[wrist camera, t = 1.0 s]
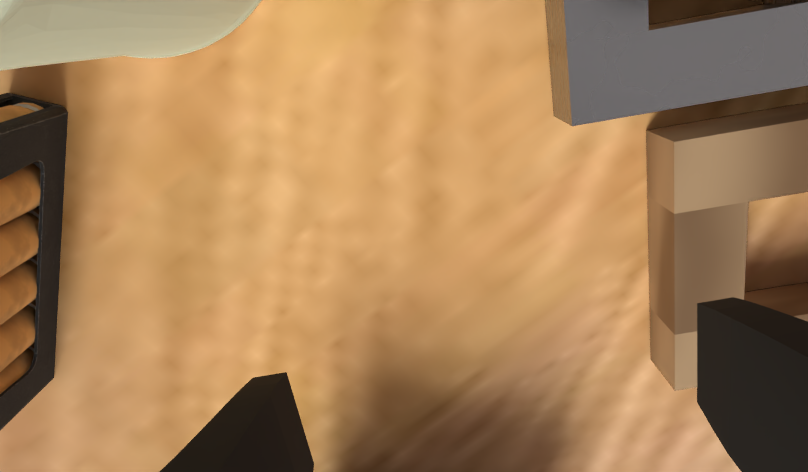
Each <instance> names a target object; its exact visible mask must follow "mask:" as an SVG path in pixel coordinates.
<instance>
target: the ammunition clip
mask: <svg viewBox="0 0 808 472" xmlns="http://www.w3.org/2000/svg"><path fill="white" fill-rule="evenodd" d="M67 118H68V112H67V111H66V110H65V108H64V107H63V106H61V105H57V104H53V103H48V102H44V101H40V100H36V99H32V98H28V97H24V96H20V95H16V94H12V93H6V94H2V95H0V430H1V429H2V428H3V427H4V426H5V425H6V424H7V423H8V422H9V421H10V420H11V419H12V418H13V417H14V416H15V415H16V414H17V413H18V412H19V411H21V410H22V409H23V408H24V407H25V406H26V405H27V404H28V403H29V402H30V401H31V400H32V399H33V398H34V397H35V396H36V395H37V394H38V393H39V392H40V391H41V390H42V389H43V388H44V387H45V386H46V385H47V384H48V383H49V382H50V381H51V380H52V379H53V378H54V367H55V348H56V328H57V309H58V290H59V271H60V252H61V233H62V214H63V194H64V175H65V156H66V137H67Z"/></svg>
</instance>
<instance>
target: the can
mask: <svg viewBox="0 0 808 472" xmlns="http://www.w3.org/2000/svg"><path fill="white" fill-rule="evenodd" d="M261 1H262V0H0V71H1V70H9V69H16V68H23V67H31V66H40V65H49V64H57V63H66V62H74V61H83V60H92V59H100V58H109V57H118V56H129V57H136V58H167V57H174V56H179V55H183V54H187V53H191V52H194V51H196V50H199V49H202V48H205V47H207V46H209V45H211V44H213V43H215V42H216V41H218V40H220V39H222V38H223V37H225V36H226V35H228V34H229V33H231V32H232V31H233V30H234V29H236V28H237V27H238V26H239V25H241V24H242V23H243V22H244V21H245V20H246V18H247V17H248V16H249V15H250V14H251V13H252V12H253V11H254V10H255V8H256V7H257V6H258V4H259V3H260V2H261Z"/></svg>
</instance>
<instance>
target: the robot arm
mask: <svg viewBox="0 0 808 472" xmlns="http://www.w3.org/2000/svg"><path fill="white" fill-rule="evenodd" d="M697 402H698V404H699V406H700V408H701V409H702V411H703V413H704V415H705V416H706V418H707V420H708V422H709V423H710V425H711V427H712V428H713V430H714V432H715V433H716V435H717V437H718V438H719V440H720V442H721V443H722V445H723V446H724V448H725V450H726V451H727V453H728V454H729V456H730V457H731V458H732V460H733V461H734V462H735V464H736V465H737V466H738V468H739V469H740V470H741V471H742V472H808V321H805V320H802V319H799V318H797V317H794V316H791V315H788V314H785V313H783V312H780V311H777V310H774V309H771V308H768V307H765V306H762V305H759V304H756V303H753V302H750V301H746V300H742V299H739V298H735V297H731V298H725V299H720V300H714V301H708V302H702V303H697ZM313 468H314V462H313V459H312V456H311V452H310V449H309V446H308V443H307V439H306V436H305V433H304V429H303V426H302V423H301V419H300V416H299V413H298V409H297V406H296V403H295V399H294V396H293V393H292V389H291V386H290V383H289V379H288V376H287V373H286V372H285V373H279V374H273V375H267V376H261V377H255V378H252V379H251V380H250V381H249V382H248V383H247V384H246V385H245V386H244V387H243V388H242V389H241V390H240V391H239V392H238V393H237V394H236V395H235V396H234V397H233V398H232V399H231V400H230V401H229V402H228V403H227V404H226V405H225V406H224V407H223V408H222V409H221V410H220V411H219V412H218V413H217V414H216V415H215V416H214V418H213V419H212V420H211V421H210V422H209V423H208V424H207V425H206V426H205V427H204V428H203V429H202V430H201V431H200V432H199V433H198V434H197V435H196V436H195V437H194V438H193V439H192V440H191V441H190V442H189V443H188V444H187V445H186V446H185V447H184V448H183V449H182V450H181V452H180V453H179V454H178V455H177V456H176V457H175V458H174V459H172V460H171V461H170V462H169V463H168V464H167V465H166V466H165V467H164V468H163V469H162V470H161V471H160V472H313Z"/></svg>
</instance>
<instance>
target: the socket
mask: <svg viewBox="0 0 808 472" xmlns="http://www.w3.org/2000/svg"><path fill="white" fill-rule="evenodd" d="M646 149H647V199H648V249H649V298H650V348H651V361H652V362H653V363H654V364H655V366H656V367H657V368H658V370H659V371H660V372H661V373H662V375H663V376H664V377H665V379H666V380H667V381H668V383H669V384H670V385H671V386H672V388H673V389H674V390H675V391H676V390H683V389H690V388H696V387H697V303H702V302H708V301H714V300H720V299H725V298H731V297H735V298H739V299H742V300H746V301H750V302H753V303H756V304H759V305H762V306H765V307H768V308H771V309H774V310H777V311H780V312H783V313H785V314H788V315H791V316H794V317H797V318H799V319H802V320H805V321H808V282H807V283H800V284H794V285H788V286H781V287H775V288H769V289H762V290H756V291H750V292H744V290H745V268H746V246H747V224H748V203H749V201H755V200H761V199H768V198H774V197H780V196H786V195H792V194H798V193H804V192H808V103H802V104H797V105H791V106H785V107H779V108H773V109H767V110H762V111H756V112H750V113H744V114H738V115H732V116H727V117H721V118H715V119H709V120H703V121H697V122H692V123H686V124H680V125H674V126H668V127H663V128H657V129H651V130H646Z"/></svg>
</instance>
